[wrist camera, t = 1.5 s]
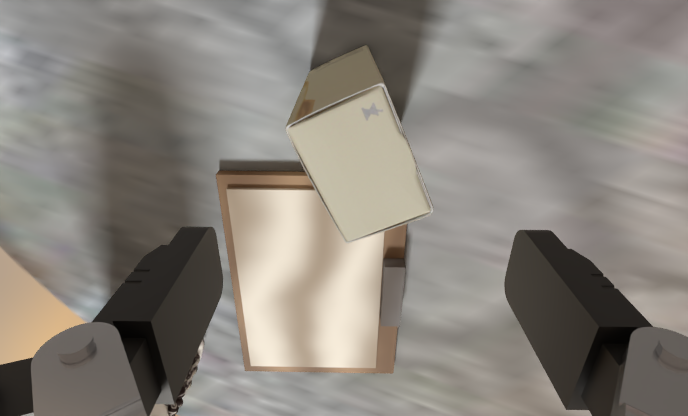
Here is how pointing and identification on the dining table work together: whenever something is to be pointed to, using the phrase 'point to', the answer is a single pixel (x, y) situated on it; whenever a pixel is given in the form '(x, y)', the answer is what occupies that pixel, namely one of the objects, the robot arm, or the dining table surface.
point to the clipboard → (308, 279)
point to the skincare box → (356, 148)
